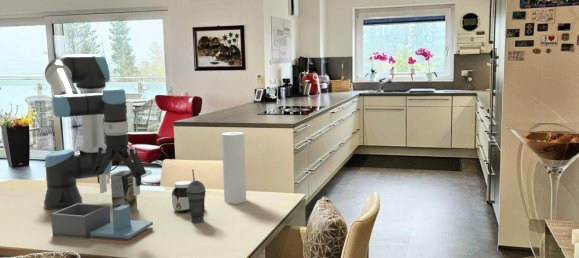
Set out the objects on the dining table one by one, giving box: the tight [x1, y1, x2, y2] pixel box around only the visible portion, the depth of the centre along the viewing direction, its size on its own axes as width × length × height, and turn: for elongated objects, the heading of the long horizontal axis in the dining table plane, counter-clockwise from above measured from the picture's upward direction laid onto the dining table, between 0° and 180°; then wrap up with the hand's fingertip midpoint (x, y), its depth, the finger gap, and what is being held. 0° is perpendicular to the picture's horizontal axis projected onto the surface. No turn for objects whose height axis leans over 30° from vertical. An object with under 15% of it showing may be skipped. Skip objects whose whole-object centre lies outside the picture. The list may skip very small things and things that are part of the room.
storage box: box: [50, 203, 112, 240], centre depth 187 cm, size 14×14×8 cm
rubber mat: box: [91, 226, 153, 245], centre depth 182 cm, size 14×16×1 cm
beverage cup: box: [186, 169, 207, 224], centre depth 194 cm, size 7×7×20 cm
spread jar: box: [171, 180, 206, 214], centre depth 210 cm, size 12×11×12 cm
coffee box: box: [110, 170, 138, 213], centre depth 210 cm, size 9×6×16 cm
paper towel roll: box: [221, 131, 247, 205], centre depth 221 cm, size 9×9×30 cm
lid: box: [90, 205, 154, 240], centre depth 182 cm, size 15×15×9 cm
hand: (120, 193), depth 181 cm, fingers open, 13 cm apart
